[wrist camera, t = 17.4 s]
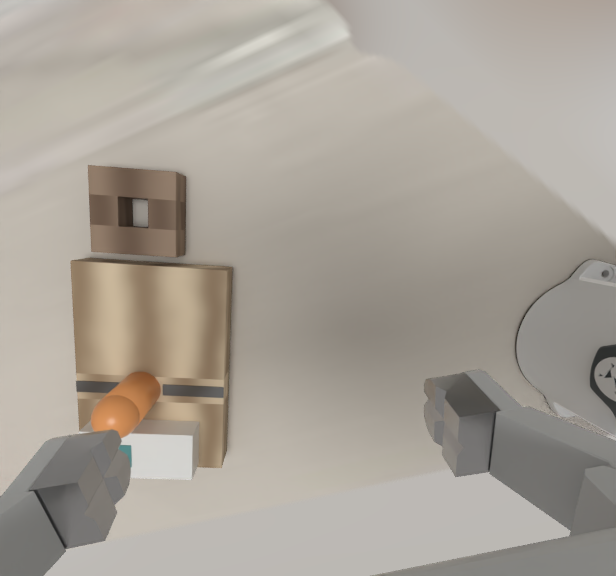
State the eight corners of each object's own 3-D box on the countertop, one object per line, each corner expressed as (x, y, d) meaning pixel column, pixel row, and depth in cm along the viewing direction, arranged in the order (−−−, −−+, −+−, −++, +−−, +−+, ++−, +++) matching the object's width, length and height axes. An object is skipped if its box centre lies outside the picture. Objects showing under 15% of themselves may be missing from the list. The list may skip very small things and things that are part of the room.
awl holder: (185, 176, 35) (176, 172, 32) (185, 254, 36) (175, 257, 33) (105, 170, 35) (87, 165, 32) (108, 249, 36) (91, 251, 33)
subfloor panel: (232, 266, 37) (227, 270, 34) (226, 450, 41) (221, 468, 38) (88, 257, 36) (69, 260, 33) (96, 445, 40) (80, 464, 37)
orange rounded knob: (170, 361, 38) (128, 407, 29) (170, 395, 39) (130, 450, 29) (133, 360, 38) (79, 405, 28) (134, 393, 39) (81, 449, 29)
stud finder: (199, 421, 37) (192, 436, 34) (198, 463, 37) (191, 480, 35) (93, 417, 36) (78, 432, 33) (95, 459, 37) (80, 477, 34)
